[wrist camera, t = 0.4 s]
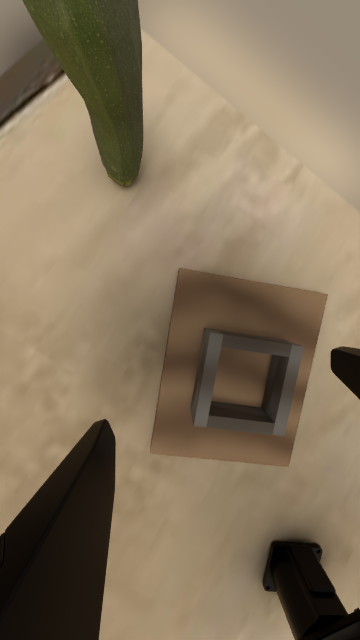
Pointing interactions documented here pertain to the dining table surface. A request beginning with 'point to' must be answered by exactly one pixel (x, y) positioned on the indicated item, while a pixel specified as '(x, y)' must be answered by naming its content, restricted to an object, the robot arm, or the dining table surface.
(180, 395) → the can holder
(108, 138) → the vegetable
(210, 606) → the dining table surface
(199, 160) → the dining table surface
